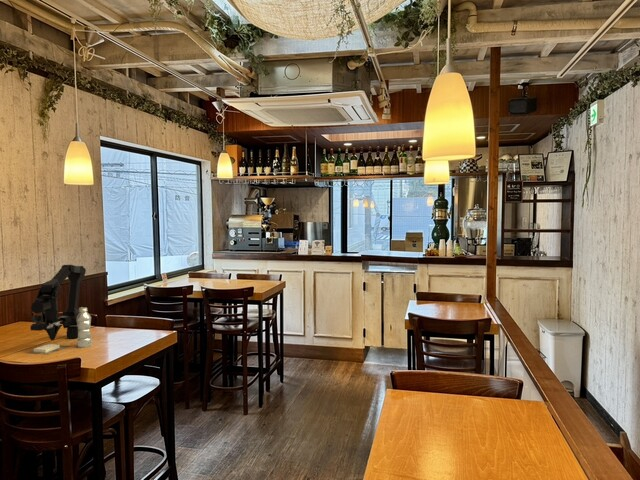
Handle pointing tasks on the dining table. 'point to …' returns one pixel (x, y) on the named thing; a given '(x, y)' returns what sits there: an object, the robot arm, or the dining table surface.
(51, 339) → the robot arm
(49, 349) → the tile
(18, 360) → the dining table surface
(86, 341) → the plastic bottle
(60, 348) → the board
